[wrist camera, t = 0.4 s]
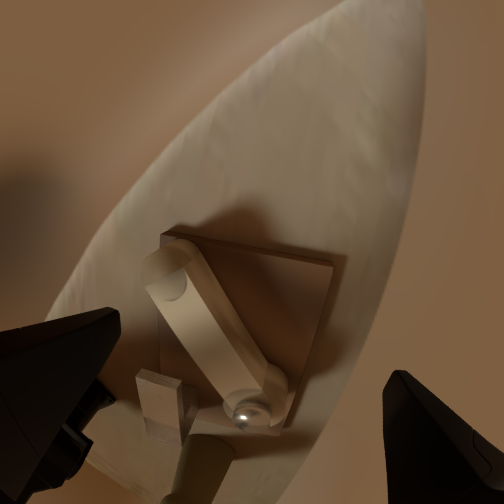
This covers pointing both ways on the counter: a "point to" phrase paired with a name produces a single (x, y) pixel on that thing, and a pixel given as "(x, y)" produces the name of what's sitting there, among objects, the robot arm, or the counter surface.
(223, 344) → the latch arm
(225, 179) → the counter surface
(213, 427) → the counter surface
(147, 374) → the keeper
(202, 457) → the cork
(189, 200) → the counter surface
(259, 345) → the base plate
